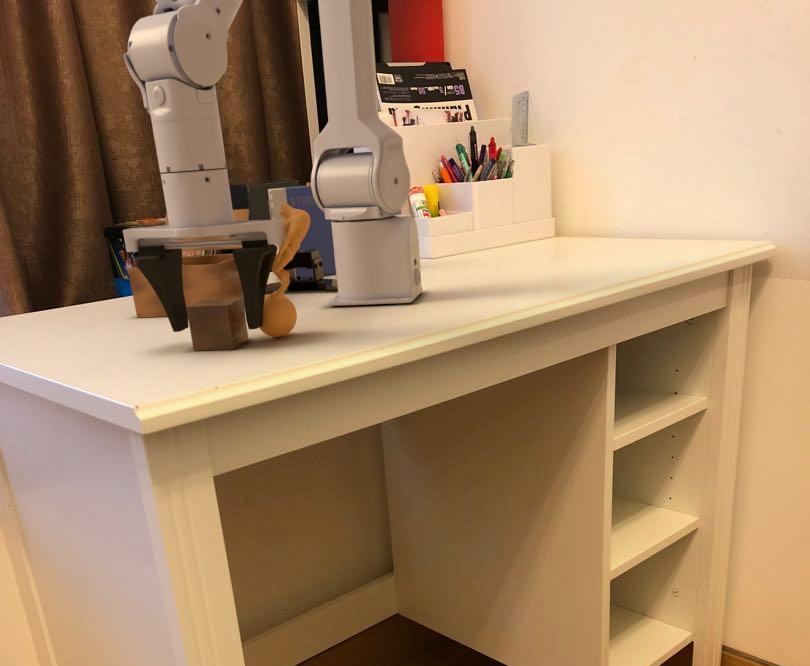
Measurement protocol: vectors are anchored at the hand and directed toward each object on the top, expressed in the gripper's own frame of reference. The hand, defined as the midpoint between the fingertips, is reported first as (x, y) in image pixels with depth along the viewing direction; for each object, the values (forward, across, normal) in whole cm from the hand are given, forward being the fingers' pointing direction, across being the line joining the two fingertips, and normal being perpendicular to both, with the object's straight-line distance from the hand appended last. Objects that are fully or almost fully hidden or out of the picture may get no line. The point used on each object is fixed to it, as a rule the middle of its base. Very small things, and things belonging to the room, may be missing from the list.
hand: (218, 328), depth 82 cm
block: (+2, 0, 0) cm, 2 cm away
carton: (+2, -12, +22) cm, 25 cm away
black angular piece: (+2, -2, +33) cm, 33 cm away
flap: (-7, -11, +28) cm, 31 cm away
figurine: (+2, +6, +3) cm, 7 cm away
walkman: (+2, -4, +44) cm, 44 cm away
